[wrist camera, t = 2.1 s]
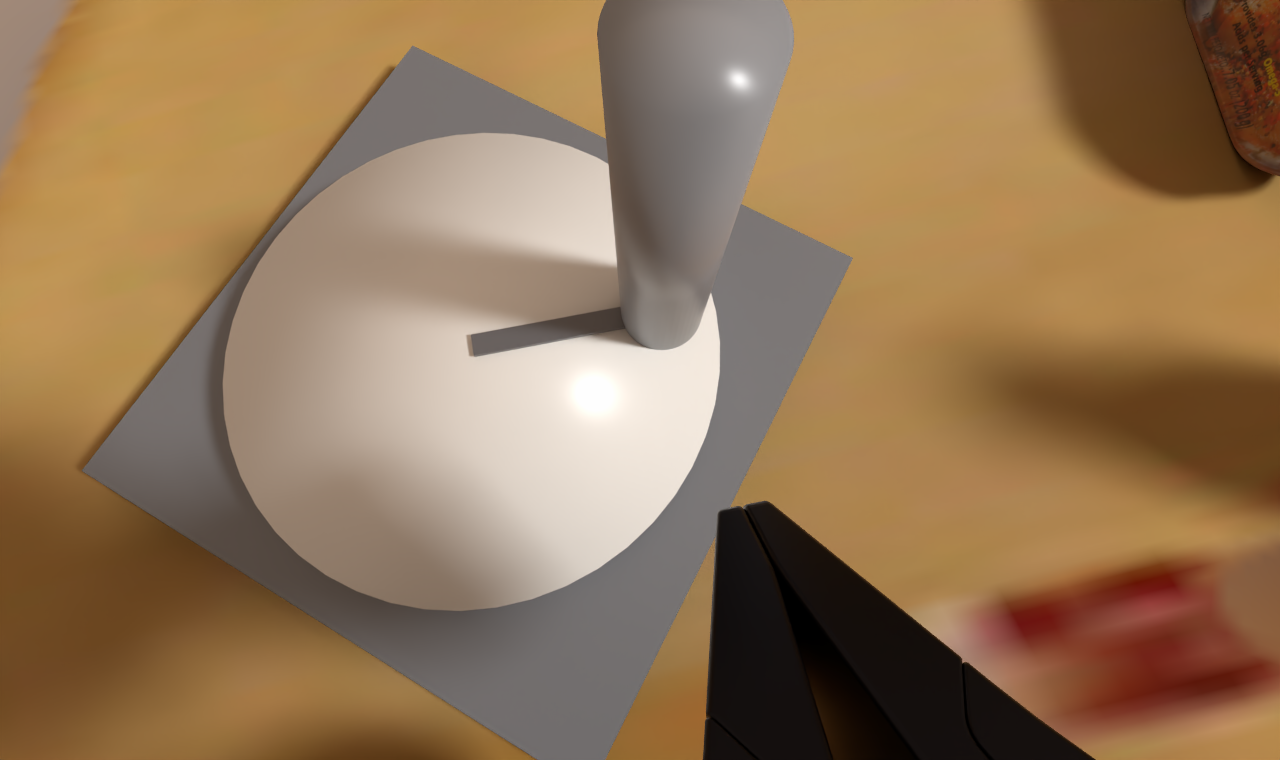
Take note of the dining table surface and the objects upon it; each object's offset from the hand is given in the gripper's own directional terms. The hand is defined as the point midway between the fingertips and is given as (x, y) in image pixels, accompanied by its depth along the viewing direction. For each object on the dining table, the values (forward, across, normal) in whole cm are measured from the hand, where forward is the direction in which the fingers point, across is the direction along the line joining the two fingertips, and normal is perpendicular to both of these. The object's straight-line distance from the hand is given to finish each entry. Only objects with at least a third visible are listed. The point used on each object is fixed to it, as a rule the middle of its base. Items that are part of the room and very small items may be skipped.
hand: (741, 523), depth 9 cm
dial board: (+14, +6, +4) cm, 16 cm away
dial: (+13, +6, +3) cm, 15 cm away
